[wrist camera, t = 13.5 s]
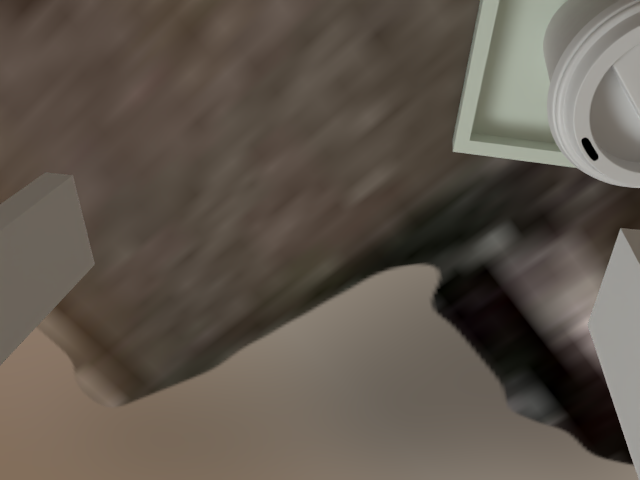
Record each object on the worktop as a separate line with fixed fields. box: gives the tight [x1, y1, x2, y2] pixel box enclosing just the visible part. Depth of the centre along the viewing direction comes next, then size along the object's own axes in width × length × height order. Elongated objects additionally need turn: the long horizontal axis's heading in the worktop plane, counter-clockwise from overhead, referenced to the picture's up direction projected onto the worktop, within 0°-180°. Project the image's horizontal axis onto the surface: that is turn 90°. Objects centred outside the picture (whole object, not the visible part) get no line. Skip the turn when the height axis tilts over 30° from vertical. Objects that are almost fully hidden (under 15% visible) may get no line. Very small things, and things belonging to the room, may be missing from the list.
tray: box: [453, 0, 577, 168], centre depth 37 cm, size 17×15×2 cm
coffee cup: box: [543, 0, 640, 188], centre depth 31 cm, size 10×10×15 cm
